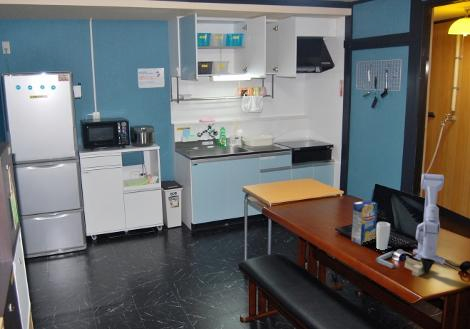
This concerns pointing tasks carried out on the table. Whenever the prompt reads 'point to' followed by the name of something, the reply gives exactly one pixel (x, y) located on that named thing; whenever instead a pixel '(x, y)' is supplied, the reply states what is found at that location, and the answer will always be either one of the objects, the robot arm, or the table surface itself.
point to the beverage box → (364, 221)
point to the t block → (414, 266)
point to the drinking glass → (382, 235)
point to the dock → (381, 258)
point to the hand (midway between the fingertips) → (426, 272)
